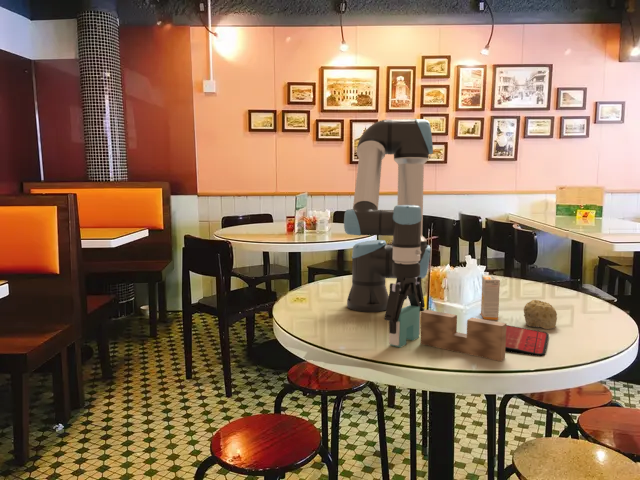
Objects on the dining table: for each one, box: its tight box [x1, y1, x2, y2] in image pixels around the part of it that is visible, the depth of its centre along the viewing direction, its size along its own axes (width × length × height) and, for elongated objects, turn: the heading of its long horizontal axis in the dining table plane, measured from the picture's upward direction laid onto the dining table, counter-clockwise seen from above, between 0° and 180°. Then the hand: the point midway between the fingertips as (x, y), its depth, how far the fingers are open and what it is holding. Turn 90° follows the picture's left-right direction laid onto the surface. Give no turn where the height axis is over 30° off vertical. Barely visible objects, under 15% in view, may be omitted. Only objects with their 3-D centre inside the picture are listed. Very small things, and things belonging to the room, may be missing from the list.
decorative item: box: [523, 299, 558, 330], centre depth 158 cm, size 10×10×10 cm
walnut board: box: [420, 309, 508, 362], centre depth 135 cm, size 22×3×9 cm, turn 52°
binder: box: [505, 324, 550, 357], centre depth 143 cm, size 16×2×21 cm
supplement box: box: [480, 274, 501, 321], centre depth 167 cm, size 8×5×13 cm, turn 168°
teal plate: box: [389, 304, 421, 348], centre depth 143 cm, size 11×3×9 cm, turn 142°
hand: (405, 338), depth 143 cm, fingers open, 11 cm apart
